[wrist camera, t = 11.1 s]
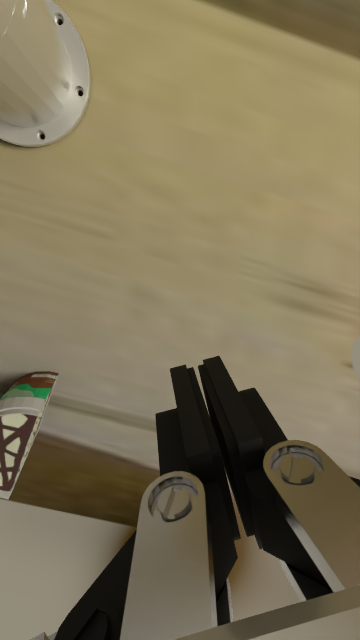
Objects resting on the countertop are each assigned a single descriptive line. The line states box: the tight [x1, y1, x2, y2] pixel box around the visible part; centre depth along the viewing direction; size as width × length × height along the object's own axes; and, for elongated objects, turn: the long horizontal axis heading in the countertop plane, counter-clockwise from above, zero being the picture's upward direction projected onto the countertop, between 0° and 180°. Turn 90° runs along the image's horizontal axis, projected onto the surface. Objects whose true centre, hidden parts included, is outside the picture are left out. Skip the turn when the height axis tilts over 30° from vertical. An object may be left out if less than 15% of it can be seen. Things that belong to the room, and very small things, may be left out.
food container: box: [0, 372, 58, 499], centre depth 37 cm, size 12×6×10 cm, turn 156°
